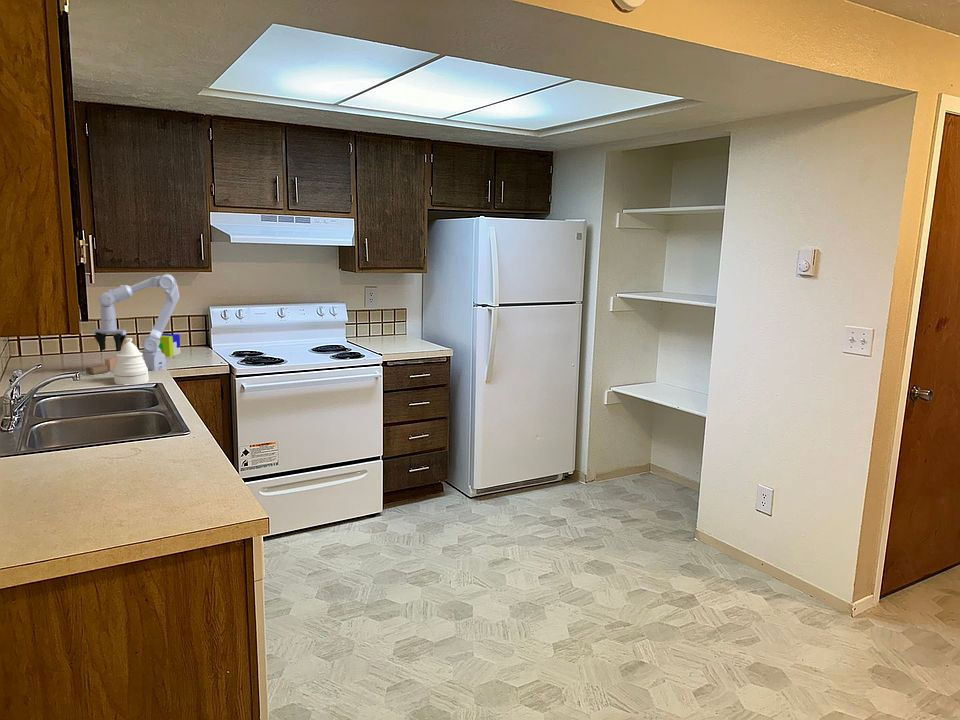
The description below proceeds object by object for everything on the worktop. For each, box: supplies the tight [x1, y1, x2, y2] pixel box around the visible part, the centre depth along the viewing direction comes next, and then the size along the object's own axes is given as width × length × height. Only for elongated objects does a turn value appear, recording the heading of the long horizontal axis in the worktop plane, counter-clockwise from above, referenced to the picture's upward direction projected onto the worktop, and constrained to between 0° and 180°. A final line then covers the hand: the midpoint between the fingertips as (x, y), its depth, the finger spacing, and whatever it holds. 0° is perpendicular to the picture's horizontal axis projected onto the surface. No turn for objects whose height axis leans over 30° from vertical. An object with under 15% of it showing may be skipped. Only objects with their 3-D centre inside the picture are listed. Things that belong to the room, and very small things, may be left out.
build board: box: [79, 371, 114, 378], centre depth 295 cm, size 12×18×1 cm, turn 149°
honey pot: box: [113, 337, 150, 386], centre depth 280 cm, size 13×13×18 cm
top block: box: [104, 357, 118, 371], centre depth 298 cm, size 4×4×5 cm
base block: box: [85, 364, 108, 375], centre depth 290 cm, size 6×6×3 cm
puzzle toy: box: [158, 333, 181, 358], centre depth 343 cm, size 10×10×10 cm
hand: (110, 350), depth 297 cm, fingers open, 7 cm apart
